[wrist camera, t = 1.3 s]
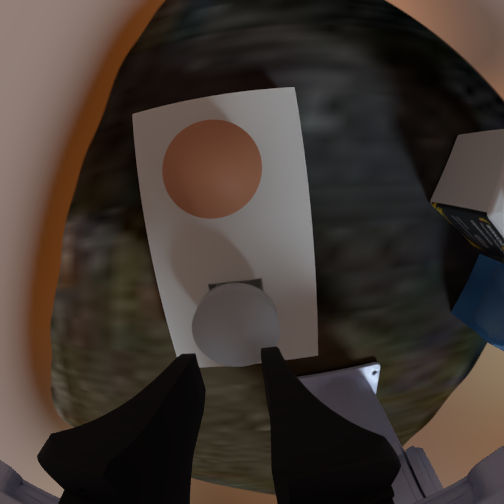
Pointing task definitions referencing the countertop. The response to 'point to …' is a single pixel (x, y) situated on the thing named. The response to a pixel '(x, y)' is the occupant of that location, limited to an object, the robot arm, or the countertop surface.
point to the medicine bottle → (475, 189)
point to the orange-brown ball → (212, 169)
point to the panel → (234, 220)
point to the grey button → (235, 324)
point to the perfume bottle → (484, 301)
